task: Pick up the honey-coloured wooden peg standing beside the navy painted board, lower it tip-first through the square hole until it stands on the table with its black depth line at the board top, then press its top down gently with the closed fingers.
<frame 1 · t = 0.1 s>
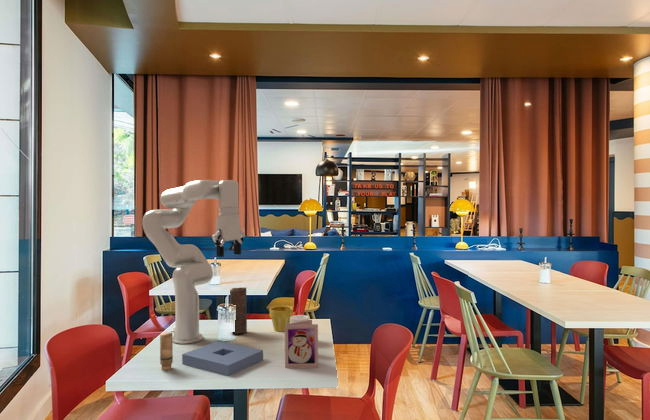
hand: (229, 255, 174), 37 cm above the table, tool pointing down, fingers open, 9 cm apart
greeting card: (301, 365, 156), on the table
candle: (238, 333, 196), on the table
white cup: (299, 341, 184), on the table
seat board: (223, 361, 160), on the table
plant pot: (281, 330, 201), on the table
leg peg: (166, 368, 153), on the table
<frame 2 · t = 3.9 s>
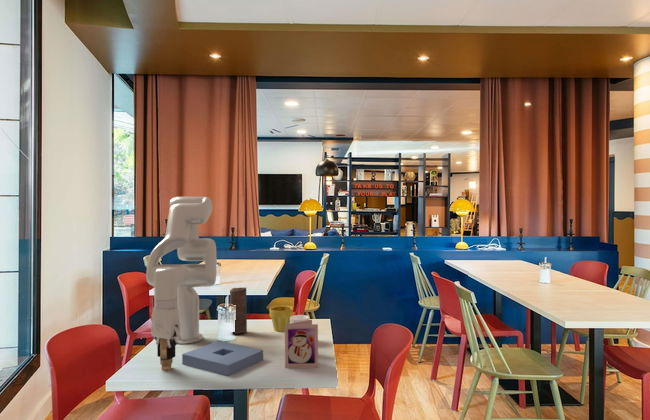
hand: (166, 356, 153), 4 cm above the table, tool pointing down, fingers closed on leg peg, 4 cm apart
leg peg: (166, 368, 153), on the table, touching gripper
everything else where it was.
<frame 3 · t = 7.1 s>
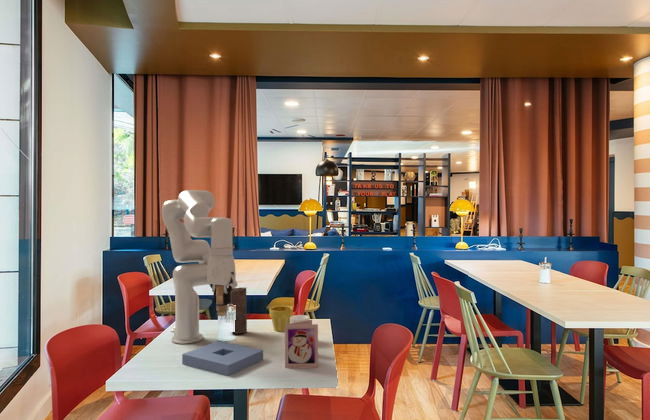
hand: (222, 302, 159), 21 cm above the table, tool pointing down, fingers closed on leg peg, 4 cm apart
leg peg: (222, 314, 159), point 17 cm above the table, touching gripper
everything else where it was.
when the fingers open (5 cm above the table, at t = 10.3 s): leg peg stays where it is, resting in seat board.
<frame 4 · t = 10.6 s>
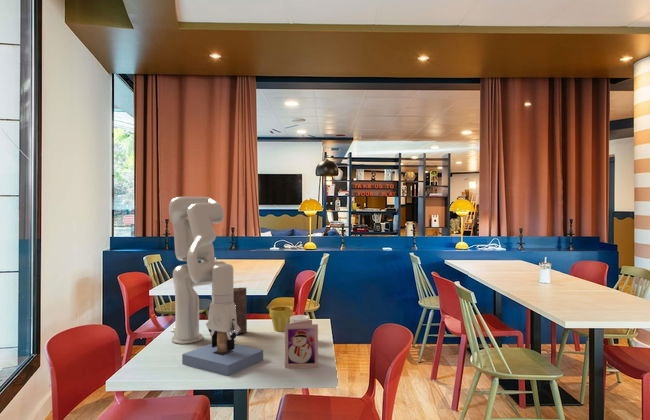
hand: (223, 347, 160), 5 cm above the table, tool pointing down, fingers open, 6 cm apart
leg peg: (222, 361, 160), resting in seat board
everything else where it was.
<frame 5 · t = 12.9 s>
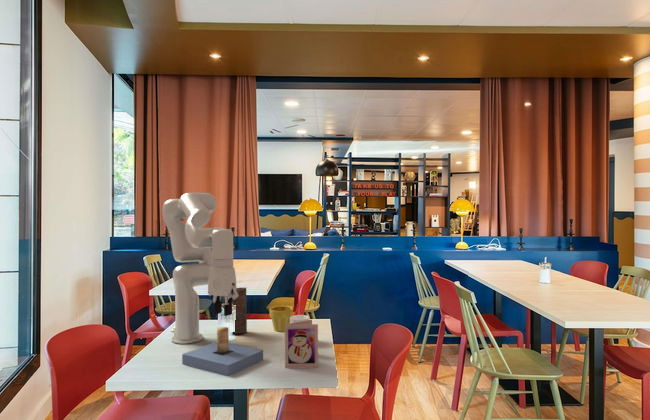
hand: (222, 313, 160), 17 cm above the table, tool pointing down, fingers open, 4 cm apart
nothing on the table moved.
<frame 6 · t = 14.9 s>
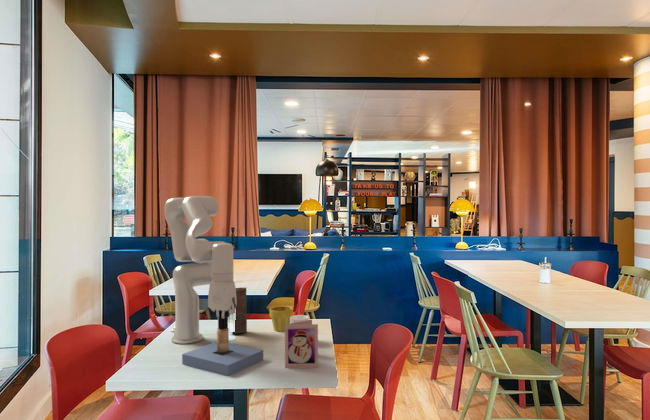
hand: (223, 328, 160), 12 cm above the table, tool pointing down, fingers closed
leg peg: (222, 361, 160), resting in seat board, touching gripper
everything else where it was.
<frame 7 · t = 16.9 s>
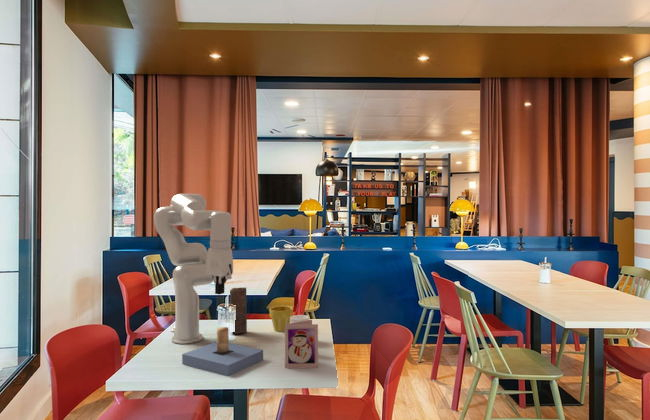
hand: (219, 293, 167), 23 cm above the table, tool pointing down, fingers closed
leg peg: (222, 361, 160), resting in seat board
everything else where it was.
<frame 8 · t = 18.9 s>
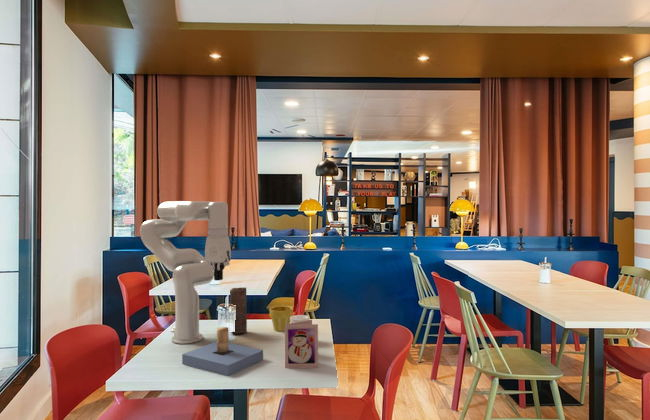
hand: (218, 279, 174), 27 cm above the table, tool pointing down, fingers closed
nothing on the table moved.
at the end: leg peg 0.1 cm off-centre on the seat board, point 0.0 cm above the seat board's base; leg peg tilted 0°; the gripper is holding nothing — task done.
